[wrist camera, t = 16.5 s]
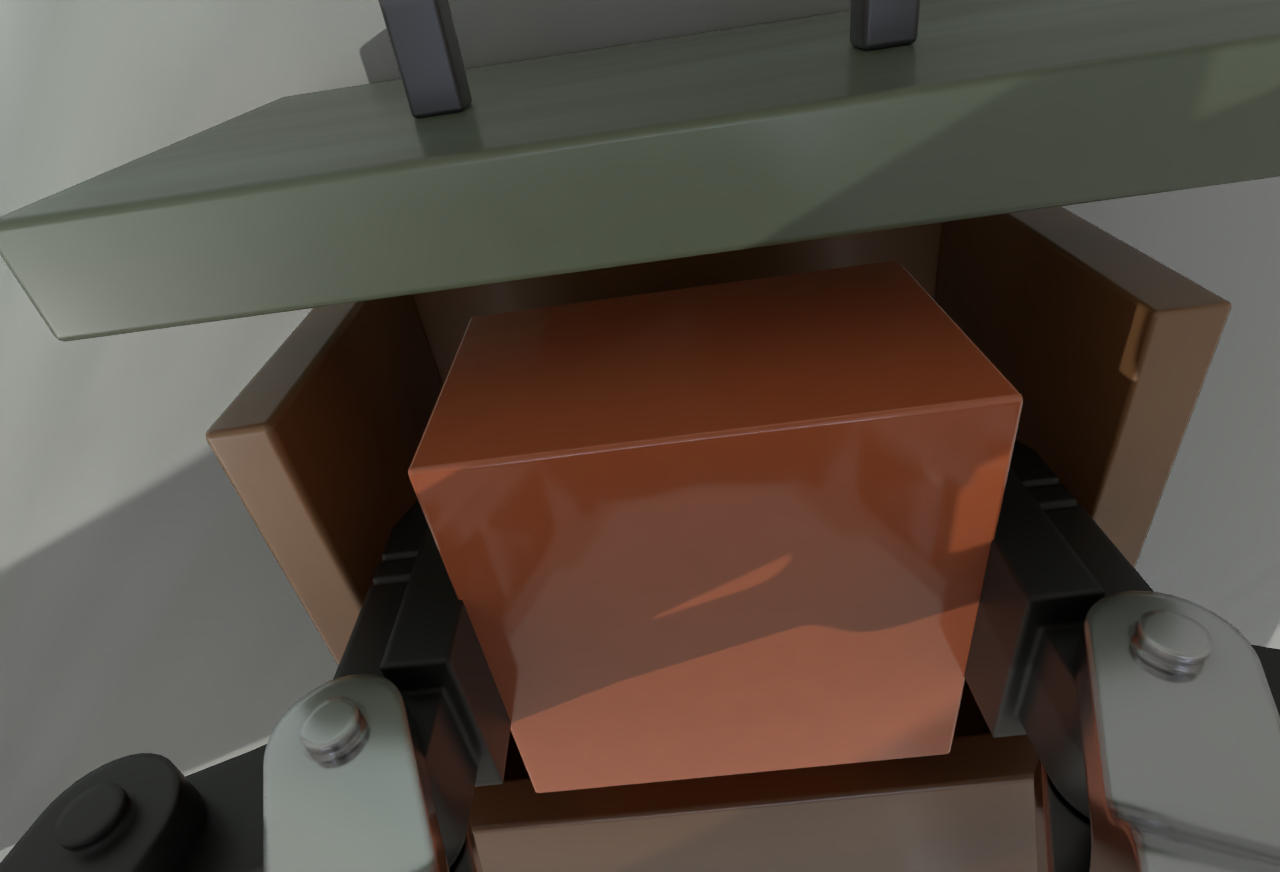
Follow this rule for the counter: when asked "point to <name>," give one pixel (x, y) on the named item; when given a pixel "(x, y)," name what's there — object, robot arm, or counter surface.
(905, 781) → the cabinet
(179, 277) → the drawer
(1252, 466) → the counter surface
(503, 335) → the rust orange brick
